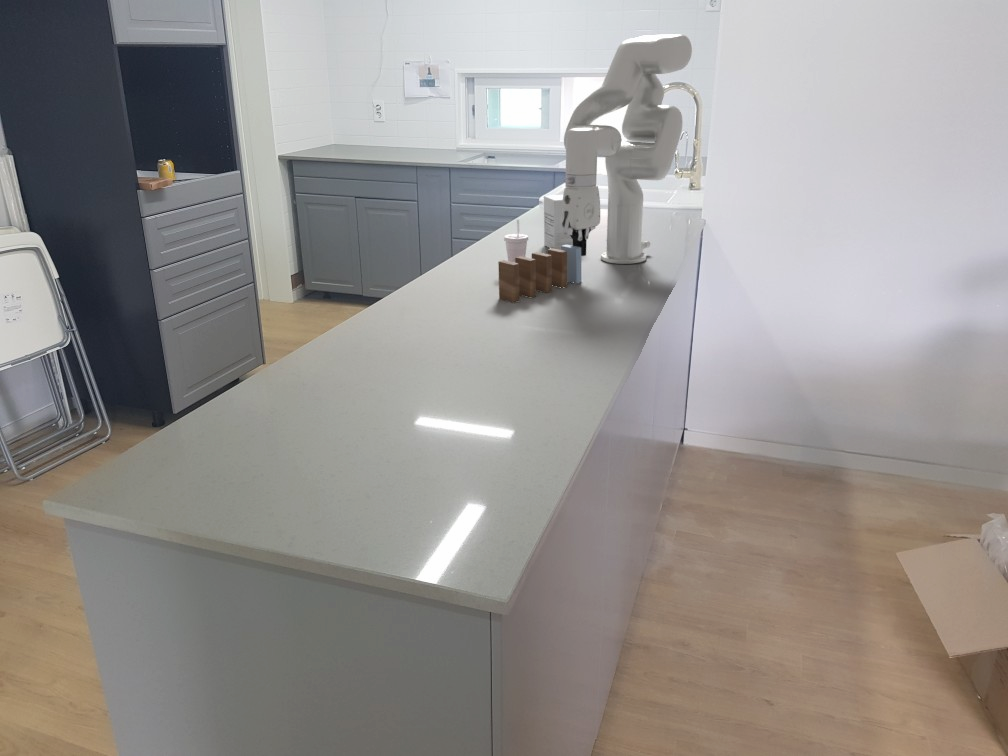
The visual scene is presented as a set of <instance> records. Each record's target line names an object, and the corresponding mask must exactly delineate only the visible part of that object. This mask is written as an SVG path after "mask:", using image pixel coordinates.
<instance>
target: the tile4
mask: <svg viewBox="0 0 1008 756" xmlns="http://www.w3.org/2000/svg"><path fill="white" fill-rule="evenodd" d="M515 263H518V264H519V296H522V295H523V296H522V297H525V296H527V298H529V297H532V298H534V296H535V297H536V296H537V290H536V259H532V257H527V256H525V257H523V256H519V257H515Z"/></svg>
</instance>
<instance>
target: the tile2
mask: <svg viewBox="0 0 1008 756" xmlns="http://www.w3.org/2000/svg"><path fill="white" fill-rule="evenodd" d="M546 254H548V255H552V285H553V286H552V287H554V286H557V287H556V288H558V287H561V288H560V289H564V288H563V287H565V288H567V287H568V282H567V251H564V250H559V249H554V248H551V249H550V248H547V250H546ZM566 286H567V287H566Z"/></svg>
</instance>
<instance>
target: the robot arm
mask: <svg viewBox="0 0 1008 756" xmlns="http://www.w3.org/2000/svg"><path fill="white" fill-rule="evenodd" d="M691 42H692V41H690V39H689V37H688V36H686V35H685V34H655V35H642V36H639V37H635V38H628V39H626V40H624V41H622V42H621V43H620V44H619V45H618V47H617V48H616V51H615V53H614V56H613V59H612V61H611V62H610V65H609V68H608V71H607V73H606V74H605V77H604V80H603V83H602V85H601V86H600V87H599V88H597V89H596V90H594V91H593V92H592V93H590V94H589V95H588V96H587V97H586V98H585V99H584V100H582V101H581V102H580V103H579V104H578V105H577V106H576V107H575V108H574V111H573V112H572V114H571V116H570V118H569V121H568V123H567V126H566V128H565V132H564V136H563V146H564V149H565V179H564V185H565V186H564V190H563V194H562V195H563V201H562V216H561V220H562V226H563V227H564V234H567V235H570V236H571V239H572V240H573V246H577V247H581V257H585V256H587V240H588V239H589V237H590V233H591V232H592V231H593V230H595V229H596V227H597V226H599V225H600V223H601V198H600V191H599V186H598V185H597V171H598V170H597V169H598V158H605V159H604V161H605V162H604V163H605V169H606V175H607V176H606V177H607V217H606V218H607V219H606V221H607V223H606V224H607V225H606V250H605V252H601V254H600V259H601V261H603V262H607V263H610V264H616V265H618V264H621V265H632V264H633V265H634V264H638V263H639V264H640V263H643V262H644V261H646V260H647V254H646V253H644V252H643V251H644V249H648V248H650V246H651V242H650V241H649V240H646V241H643V240H642V235H643V233H642V232H643V217H644V216H643V215H644V213H643V212H644V192H643V189H642V187H641V185H640V183H639V182H638V180H641V181H662V180H663V179H665V178H667V176H668V174H669V172H670V170H671V167H672V165H673V161H674V157H675V154H676V151H677V149H678V145H679V142H680V139H681V134H682V131H683V123H684V122H683V115H682V112H681V110H680V109H679V108H678V107H677V106H674V105H670V104H669V105H668V104H663V99H664V97H665V89H664V86H663V84H662V82H661V80H660V79H659V78H658V76H657V75H665V74H671V73H674V72H678V71H682V70H683V69H684V68H686V67H687V66H688V64H689V63H690V61H691V59H692V53H693V48H692V43H691ZM624 107H627V108H626V111H625V113H624V114H625V115H624V118H623V121H622V123H621V133H622V135H623V137H624V138H625V139H627V140H628V141H625V140H624V141H622V139H623V138H622V135H621V133H620V131H619V130H618V129H617V128H616V127H615V126H611V125H606V124H605V125H604V124H603V125H601V124H600V125H599V124H592V123H593V122H595V121H596V120H598V119H599V118H601V117H603V116H604V115H607V114H611V113H612V112H615V111H618V110H620V109H622V108H624ZM576 231H577V232H576Z"/></svg>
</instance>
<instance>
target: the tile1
mask: <svg viewBox="0 0 1008 756" xmlns="http://www.w3.org/2000/svg"><path fill="white" fill-rule="evenodd" d="M561 250H564V251H567V281H569V282H568V283H570V282H574V283H578V284H581V283H582V256H581V247H577V246H572V245H567V244H566V245H563V246H561ZM580 282H581V283H580ZM574 283H573V284H574Z"/></svg>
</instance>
